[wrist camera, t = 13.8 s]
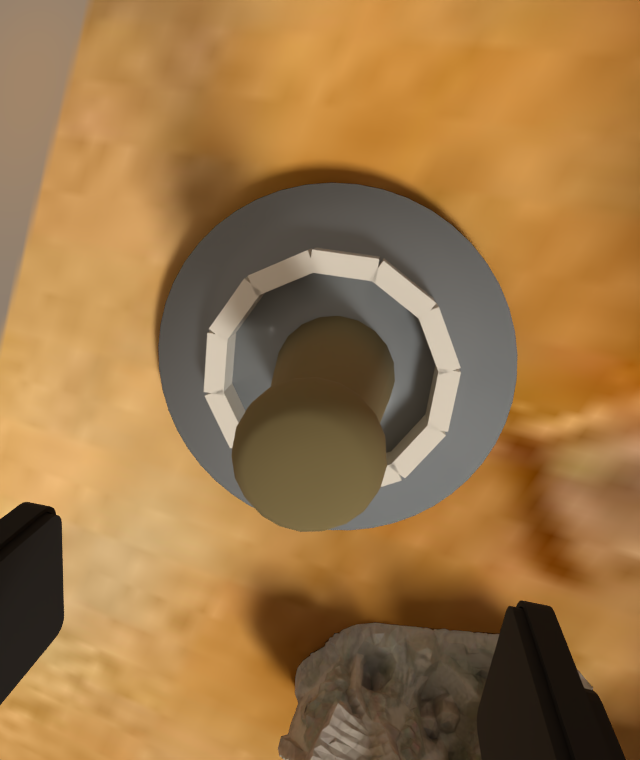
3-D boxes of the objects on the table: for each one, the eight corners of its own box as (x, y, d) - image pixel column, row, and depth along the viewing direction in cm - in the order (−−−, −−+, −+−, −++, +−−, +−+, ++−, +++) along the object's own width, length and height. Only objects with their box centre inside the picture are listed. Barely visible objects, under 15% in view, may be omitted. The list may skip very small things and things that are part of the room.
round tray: (554, 211, 24) (572, 210, 22) (470, 545, 30) (477, 574, 27) (173, 161, 26) (151, 155, 23) (160, 490, 31) (141, 513, 29)
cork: (415, 344, 26) (435, 433, 15) (366, 448, 28) (354, 590, 17) (300, 296, 26) (242, 352, 15) (258, 403, 28) (182, 518, 17)
